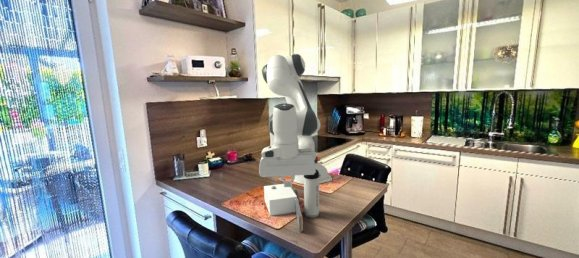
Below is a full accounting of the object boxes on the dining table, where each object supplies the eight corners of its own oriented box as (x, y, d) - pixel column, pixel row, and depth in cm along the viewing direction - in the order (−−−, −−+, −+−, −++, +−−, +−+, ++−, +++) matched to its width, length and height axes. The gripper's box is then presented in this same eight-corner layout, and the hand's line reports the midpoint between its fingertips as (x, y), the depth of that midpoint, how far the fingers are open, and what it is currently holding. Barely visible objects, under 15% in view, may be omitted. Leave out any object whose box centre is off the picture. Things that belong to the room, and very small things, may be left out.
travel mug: (302, 211, 108) (301, 167, 104) (317, 210, 108) (317, 166, 105) (304, 218, 102) (303, 171, 98) (320, 217, 102) (320, 171, 99)
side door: (295, 211, 107) (295, 198, 106) (298, 211, 107) (298, 198, 106) (299, 231, 91) (298, 216, 90) (302, 231, 91) (302, 216, 90)
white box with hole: (292, 196, 123) (291, 181, 122) (301, 211, 108) (301, 194, 107) (264, 199, 120) (263, 185, 119) (270, 215, 104) (269, 199, 103)
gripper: (314, 146, 91) (315, 182, 93) (259, 148, 91) (261, 184, 93) (316, 150, 85) (317, 188, 87) (257, 153, 85) (259, 191, 87)
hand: (288, 186), depth 90 cm, fingers closed
